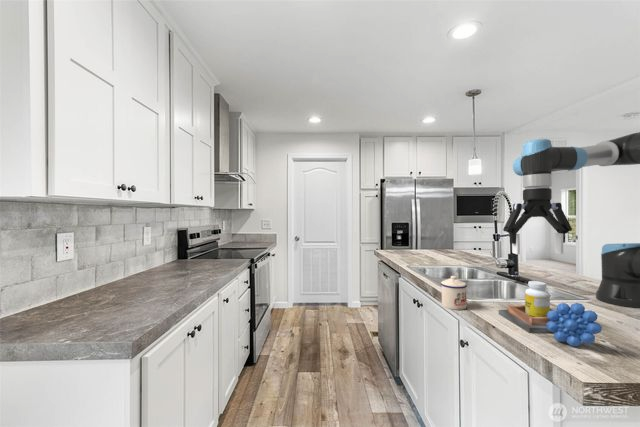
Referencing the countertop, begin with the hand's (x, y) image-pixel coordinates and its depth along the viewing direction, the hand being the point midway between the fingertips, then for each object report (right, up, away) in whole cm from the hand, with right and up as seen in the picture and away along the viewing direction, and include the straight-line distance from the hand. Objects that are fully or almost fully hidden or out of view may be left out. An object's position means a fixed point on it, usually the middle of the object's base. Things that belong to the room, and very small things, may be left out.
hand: (537, 253), depth 95 cm
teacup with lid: (-18, -23, +18) cm, 34 cm away
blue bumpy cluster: (-2, -23, -15) cm, 28 cm away
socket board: (0, -23, 0) cm, 23 cm away
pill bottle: (0, -21, 0) cm, 21 cm away
